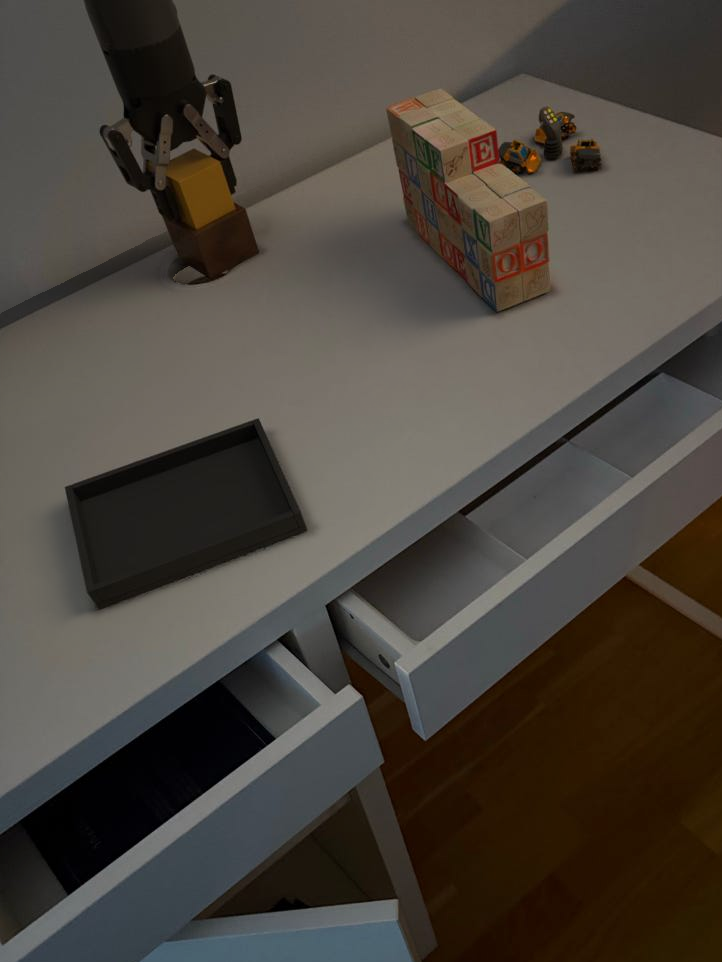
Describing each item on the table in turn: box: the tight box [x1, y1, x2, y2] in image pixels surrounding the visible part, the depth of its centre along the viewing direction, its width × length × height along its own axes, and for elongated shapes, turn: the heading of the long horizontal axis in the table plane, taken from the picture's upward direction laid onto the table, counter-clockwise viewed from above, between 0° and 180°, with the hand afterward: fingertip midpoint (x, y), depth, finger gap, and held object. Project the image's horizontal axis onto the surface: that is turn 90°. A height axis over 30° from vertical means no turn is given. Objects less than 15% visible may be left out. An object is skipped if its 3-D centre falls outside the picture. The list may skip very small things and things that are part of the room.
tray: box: [64, 417, 308, 610], centre depth 77 cm, size 17×13×2 cm
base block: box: [162, 201, 260, 280], centre depth 101 cm, size 6×6×5 cm
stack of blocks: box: [385, 88, 551, 313], centre depth 92 cm, size 21×6×12 cm, turn 27°
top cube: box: [166, 148, 235, 230], centre depth 97 cm, size 5×5×5 cm
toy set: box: [498, 106, 602, 174], centre depth 105 cm, size 12×11×5 cm
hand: (201, 206), depth 98 cm, fingers open, 6 cm apart
